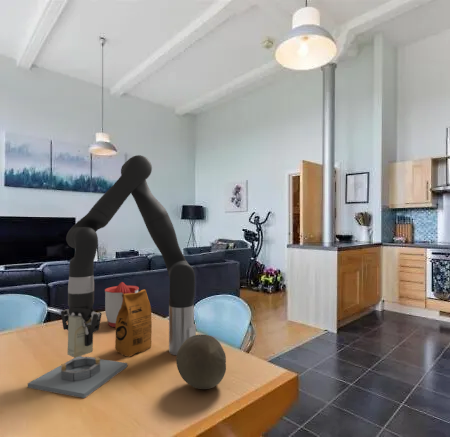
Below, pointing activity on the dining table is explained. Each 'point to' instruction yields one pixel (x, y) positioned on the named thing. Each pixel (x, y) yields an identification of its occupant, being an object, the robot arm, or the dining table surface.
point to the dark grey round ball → (201, 361)
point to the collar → (81, 374)
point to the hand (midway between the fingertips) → (80, 344)
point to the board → (77, 388)
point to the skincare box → (77, 337)
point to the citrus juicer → (116, 300)
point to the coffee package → (133, 324)
